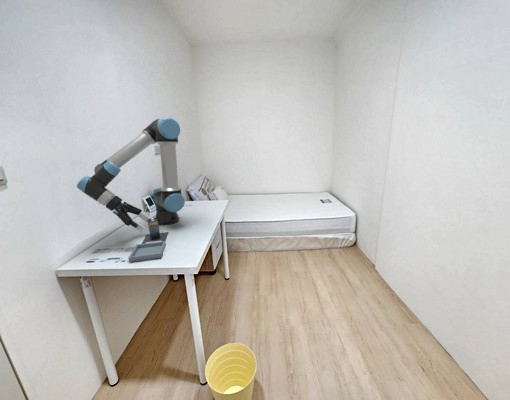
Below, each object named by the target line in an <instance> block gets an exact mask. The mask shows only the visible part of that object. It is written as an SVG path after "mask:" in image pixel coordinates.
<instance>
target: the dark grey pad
mask: <svg viewBox="0 0 510 400" xmlns="http://www.w3.org/2000/svg"><path fill="white" fill-rule="evenodd" d="M169 234H170V233H169V231H167V232H166V231H165V232H160V239H157V240H151V238H150V233H149V234H146V235H145V237H144V239H143V240H142V241H141V244H146V243H154V242H162V241H165V242H166V240H167V238H168V235H169Z"/></svg>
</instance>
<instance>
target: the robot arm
mask: <svg viewBox="0 0 510 400" xmlns="http://www.w3.org/2000/svg"><path fill="white" fill-rule="evenodd" d="M180 134H181V127H180V124H179V122H178V121H177V120H176V119H174V118H172V117H170V116H168V117H166V116H165V117H164V116H163V117H161V118H157V119H154V120H153V121H152V122H151V123H149V124H148V125H147V126H146V127H145V128H143V129H142V130H141V133H140V134H139V135H138V136H136V137H135V138H133V139H132V140H131V141H130V142H128V143H126V144H125V145H124V146H122V147H121V148H120V149H118V150H117V151H116V152H115V153H113V154H112V155H110V156H109V157H108V158H106V159H105V160H103V161H102V162H101V163H99V164H97V165H95V167H94V170H93V171H94V174H93V175H92V176H89V175H85V176H84V177H82V178H81V179H80V180H79V181H78V182H77V184H76V188H77V189H78V190H79V191H81V192H82V193H83V194H85V195H87V196H88V197H89V198H91V199H93V200H94V201H95V202H97V203H98V205H102V206H105V208H106V209H108V210H109V211H111V212H112V213H113V214H114V215H115V216H117V218H119V220H120V221H121V222H122V223H123V224H125V226H128V227H129V226H131V227H133V228H134V229H136V230H138V231H139V232H140V233H142V232H144V230H145V229H146V227H145V226H144V225H142V224H140V223H139V222H138V221H136V220H133V218H132V217H131V216H130V215H129V213H130V214H131V215H132V214H133V215H136V216H137V217H138V218H140V219H141V220H143V221H144V222H145V223H147V224H148V221H147V220H148V219H150V218H151V217H149V216H147V215H146V214H144V212H143V210H142V209H140V208H138V207H136V206H134V205H131V204H130V203H128V202H126V201H123V198H120V197H119V196H118V195H116V194H115V192H114V193H113V192H112V191H111V190H110V189H108V188H106V187H107V186H108V185H110V184H111V182H112V181H113V180H114V179H115V178H116V177H117V176H119V174H120V172H121V168H122V167H123V166H124V165H126V164H127V163H129V161H132V159H134V158H135V157H136V156H137V155H139V154H141V152H143V151H144V150H145V149H147V148H148V147H150V146H151V145H155V144H158V145H159V155H160V164H161V165H160V166H161V175H162V176H161V177H162V187H158V188H154V189H153V191H152V192H153V194H152V195H153V199H154V205H155V211H156V212H155V216H154V218H157V219H158V225H159V226H169V225H172V224H176V223H178V222H179V221H180V216H179V214H178V212H179V211H181V210H183V208H184V206H185V203H186V200H185V197H184V196H183V195H182V188H181V187H180V186H179V179H178V176H179V175H178V163H177V162H178V161H177V148H176V146H177V144H179V136H180ZM122 201H123V202H122Z"/></svg>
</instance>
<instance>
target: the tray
mask: <svg viewBox="0 0 510 400" xmlns="http://www.w3.org/2000/svg"><path fill="white" fill-rule="evenodd" d="M166 244H167V243H166V241H162V242H154V243H146V244H142V243H140V244H136V245H135V246H134V248H133V249H132V251H131V253H130V255H129V256H128V263H138V262H146V261H152V260H161V259H162V258H163V255H164V250H165V248H166Z"/></svg>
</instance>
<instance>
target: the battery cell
mask: <svg viewBox="0 0 510 400" xmlns="http://www.w3.org/2000/svg"><path fill="white" fill-rule="evenodd" d="M149 218H150V219H148V220H147V221H148V223H147V226H148V231H149V234H150V238H151V240H157V239H160V233H161V232H160V227H159V226H160V225H158V219H157V218H155V217H149Z"/></svg>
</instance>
